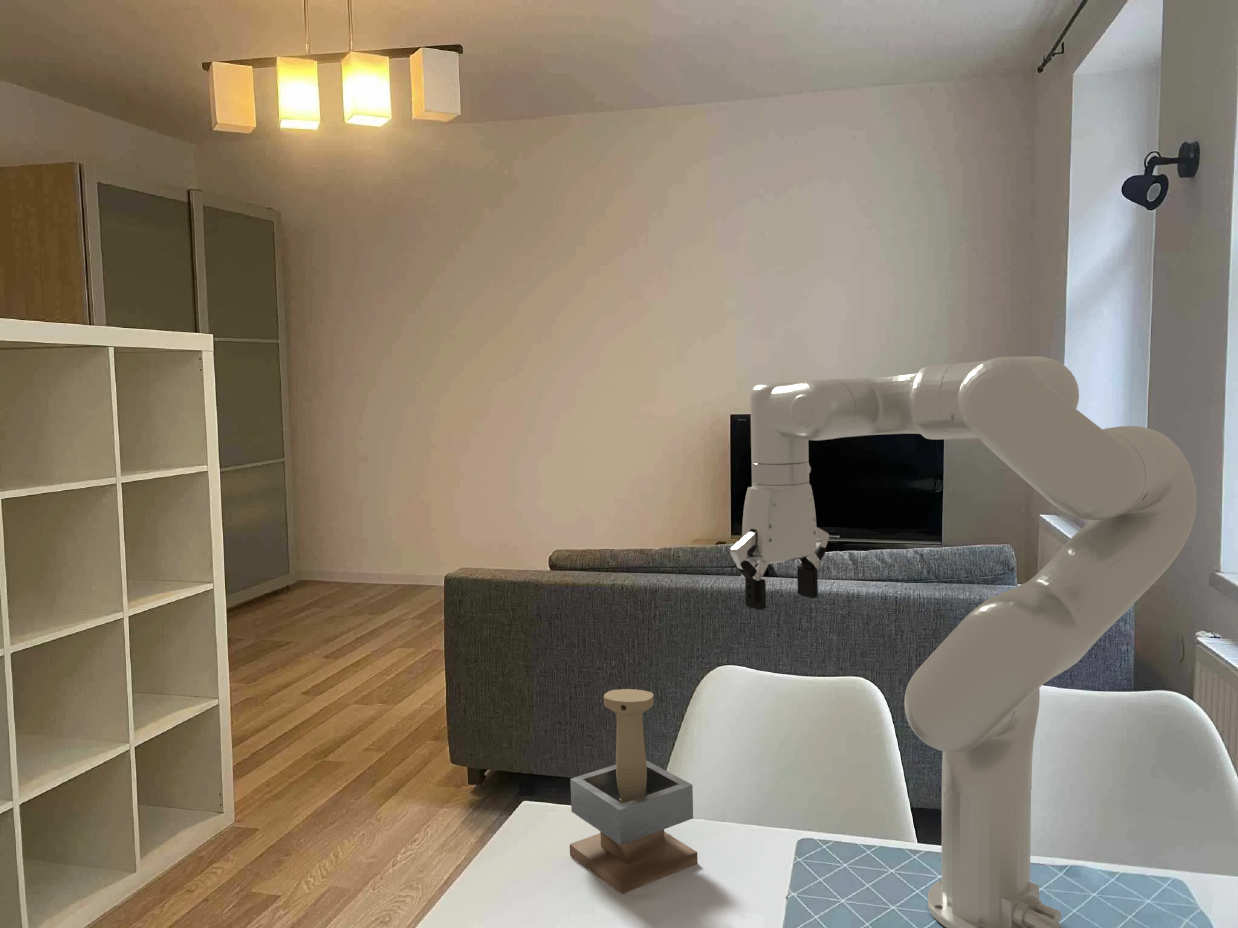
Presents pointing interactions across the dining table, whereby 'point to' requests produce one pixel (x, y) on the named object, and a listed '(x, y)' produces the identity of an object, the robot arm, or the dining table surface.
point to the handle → (630, 740)
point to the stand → (633, 859)
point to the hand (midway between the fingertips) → (782, 602)
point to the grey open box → (631, 803)
